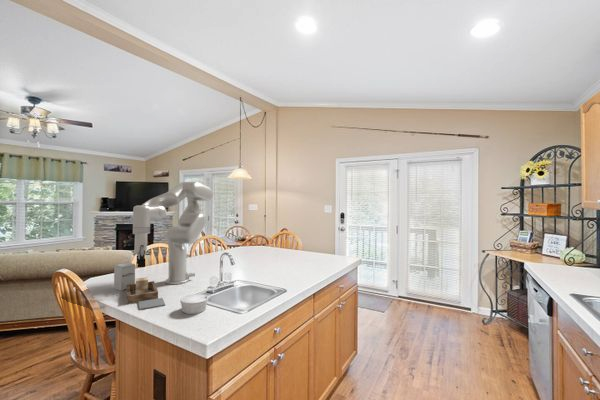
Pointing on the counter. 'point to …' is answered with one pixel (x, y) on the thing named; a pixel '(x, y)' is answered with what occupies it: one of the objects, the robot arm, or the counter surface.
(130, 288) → the box frame
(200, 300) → the ramekin
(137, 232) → the robot arm
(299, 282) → the counter surface
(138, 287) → the block
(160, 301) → the mat
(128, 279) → the supplement box
